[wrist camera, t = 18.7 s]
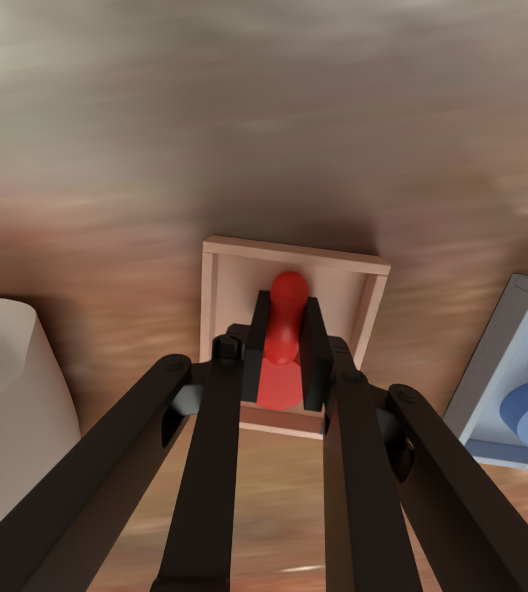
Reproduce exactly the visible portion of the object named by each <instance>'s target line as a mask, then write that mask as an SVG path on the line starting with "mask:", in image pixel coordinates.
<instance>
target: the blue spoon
mask: <svg viewBox="0 0 528 592" xmlns="http://www.w3.org/2000/svg"><path fill="white" fill-rule="evenodd" d="M500 416H501V418H502V420H503V421H504V423H505V424H506V425H507V426H508V427H509V428H510V429H511V430H512V431H513V433H514V434H515V435H516V436H517V437H518V438H519V439H520V440H521V441H522V442H523V443H525V444H526V445H528V383H527V384H524V385H522V386H520V387H518V388H516V389H514V390H513V391H512V392H510V393H509V394H508V395H507V396H506V397H505V399H504V400H503V402H502V404H501V407H500Z"/></svg>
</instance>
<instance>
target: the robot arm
mask: <svg viewBox="0 0 528 592" xmlns="http://www.w3.org/2000/svg"><path fill="white" fill-rule="evenodd" d="M270 299H271V298H270V291H264V290H259V294H258V298H257V302H256V306H255V310H254V314H253V318H252V322H251V325H245V324H237V323H233V324H232V325H230V326H229V327H228V328H227V331H226V334H222V335H218V336H217V337H215V338H214V339H213V341H212V355H211V360H209V361H207V362H202V363H191V359H190V358H189V357H187V356H185V355H183V354H170V355H167V356H164V357H162V358H161V359H159V360H158V361H157V362H156V363H155V364H154V365H153V366H152V367H151V368H150V369H149V370H148V371H147V372H146V373H145V374H144V375H143V376H142V378H141V379H140V380H139V381H138V382H137V383H136V384H135V385H134V386H133V387H132V388H131V389H130V390H129V391H128V392H127V393H126V394H125V395H124V396H123V397H122V398H121V399H120V400H119V401H118V402H117V403H116V404H115V405H114V406H113V407H112V408H111V409H110V410H109V411H108V412H107V413H106V414H105V415H104V416H103V417H102V418H101V419H100V420H99V421H98V422H97V423H96V424H95V425H94V426H93V427H92V428H91V430H90V431H89V432H88V433H87V434H86V435H85V436H84V437H83V438H82V439H81V440H80V441H79V442H78V443H77V444H76V445H75V446H74V447H73V448H72V449H71V450H70V451H69V452H68V453H67V454H66V455H65V456H64V457H63V458H62V459H61V460H60V461H59V462H58V463H57V464H56V465H55V466H54V467H53V468H52V469H51V470H50V471H49V472H48V473H47V474H46V475H45V476H44V477H43V478H42V479H41V480H40V481H39V483H38V484H37V485H36V486H35V487H34V488H33V489H32V490H31V491H30V492H29V493H28V494H27V495H26V496H25V497H24V498H23V499H22V500H21V501H20V502H19V503H18V504H17V505H16V506H15V507H14V508H13V509H12V510H11V511H10V512H9V513H8V514H7V515H6V516H5V517H4V518H3V519H2V520H1V521H0V592H86V590H87V588H88V587H89V585H90V583H91V582H92V580H93V578H94V577H95V575H96V573H97V572H98V570H99V568H100V567H101V565H102V563H103V562H104V560H105V558H106V557H107V555H108V553H109V552H110V550H111V548H112V547H113V545H114V543H115V542H116V540H117V538H118V537H119V535H120V533H121V532H122V530H123V528H124V527H125V525H126V523H127V522H128V520H129V518H130V516H131V515H132V513H133V511H134V510H135V508H136V506H137V505H138V503H139V501H140V500H141V498H142V496H143V495H144V493H145V491H146V490H147V488H148V486H149V485H150V483H151V481H152V480H153V478H154V476H155V475H156V473H157V471H158V470H159V468H160V466H161V465H162V463H163V461H164V460H165V458H166V456H167V455H168V453H169V451H170V450H171V448H172V446H173V445H174V443H175V441H176V440H177V438H178V436H179V435H180V433H181V431H182V430H183V428H184V426H185V424H186V423H187V421H188V419H189V417H190V415H193V414H198V415H197V419H196V423H195V427H194V431H193V435H192V440H191V444H190V448H189V452H188V456H187V460H186V464H185V468H184V472H183V476H182V481H181V485H180V489H179V493H178V497H177V501H176V505H175V509H174V513H173V517H172V522H171V526H170V530H169V534H168V538H167V542H166V546H165V550H164V554H163V558H162V563H161V566H160V570H159V573H158V576H157V577H156V579H155V580H154V582H153V584H152V586H151V589H150V592H230V565H231V549H232V533H233V517H234V501H235V485H236V469H237V454H238V438H239V422H240V406H241V401H245V402H252V403H257V397H258V390H259V382H260V375H261V367H262V360H263V352H264V345H265V337H266V330H267V322H268V315H269V307H270ZM299 354H300V367H301V379H302V392H303V405H304V410H308V411H315V412H321V411H322V407H323V403H324V408H325V413H324V417H323V421H322V425H321V429H320V432H319V434H320V435H322V432H323V468H324V516H325V563H326V592H423V589H422V585H421V581H420V578H419V574H418V570H417V566H416V562H415V559H414V555H413V551H412V547H411V543H410V539H409V536H408V532H407V528H406V524H405V520H404V517H403V513H402V509H401V505H402V507H403V509H404V511H405V513H406V515H407V518H408V520H409V522H410V524H411V526H412V528H413V530H414V532H415V534H416V536H417V539H418V541H419V543H420V545H421V547H422V549H423V551H424V553H425V555H426V557H427V560H428V562H429V564H430V566H431V568H432V570H433V572H434V574H435V576H436V578H437V581H438V583H439V585H440V587H441V589H442V591H443V592H528V524H527V523H526V522H525V520H524V519H523V518H522V517H521V515H520V514H519V513H518V512H517V511H516V509H515V508H514V507H513V506H512V504H511V503H510V502H509V501H508V500H507V498H506V497H505V496H504V495H503V493H502V492H501V491H500V490H499V488H498V487H497V486H496V485H495V484H494V482H493V481H492V480H491V479H490V477H489V476H488V475H487V474H486V473H485V471H484V470H483V469H482V468H481V466H480V465H479V464H478V463H477V462H476V460H475V459H474V458H473V457H472V455H471V454H470V453H469V452H468V450H467V449H466V448H465V447H464V446H463V444H462V443H461V442H460V441H459V439H458V438H457V437H456V436H455V435H454V433H453V432H452V431H451V430H450V428H449V427H448V426H447V425H446V424H445V422H444V421H443V420H442V419H441V417H440V416H439V415H438V414H437V412H436V411H435V410H434V409H433V408H432V406H431V405H430V404H429V403H428V401H427V400H426V399H425V398H424V397H423V396H422V395H421V394H420V393H419V392H418V391H417V390H415V389H413V388H412V387H410V386H407V385H403V384H392V385H391V386H390V387H389V390H388V391H387V390H384V389H381V388H378V387H376V386H373V385H371V384H369V383H368V379H367V378H366V376H365V375H364V374H363V373H362V372H361V371H359V370H357V369H356V366H355V363H354V361H353V358H352V355H351V353H350V350H349V348H348V345H347V343H346V342H345V341H344V340H343V339H342V338H341V337H338V336H331V335H327V332H326V328H325V324H324V321H323V317H322V313H321V310H320V306H319V302H318V299H317V298H316V297H309V296H308V299H307V303H306V307H305V312H304V318H303V323H302V328H301V334H300V339H299ZM410 442H411V444H412V445H411V444H410ZM412 446H413V447H412ZM400 503H401V505H400Z"/></svg>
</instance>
